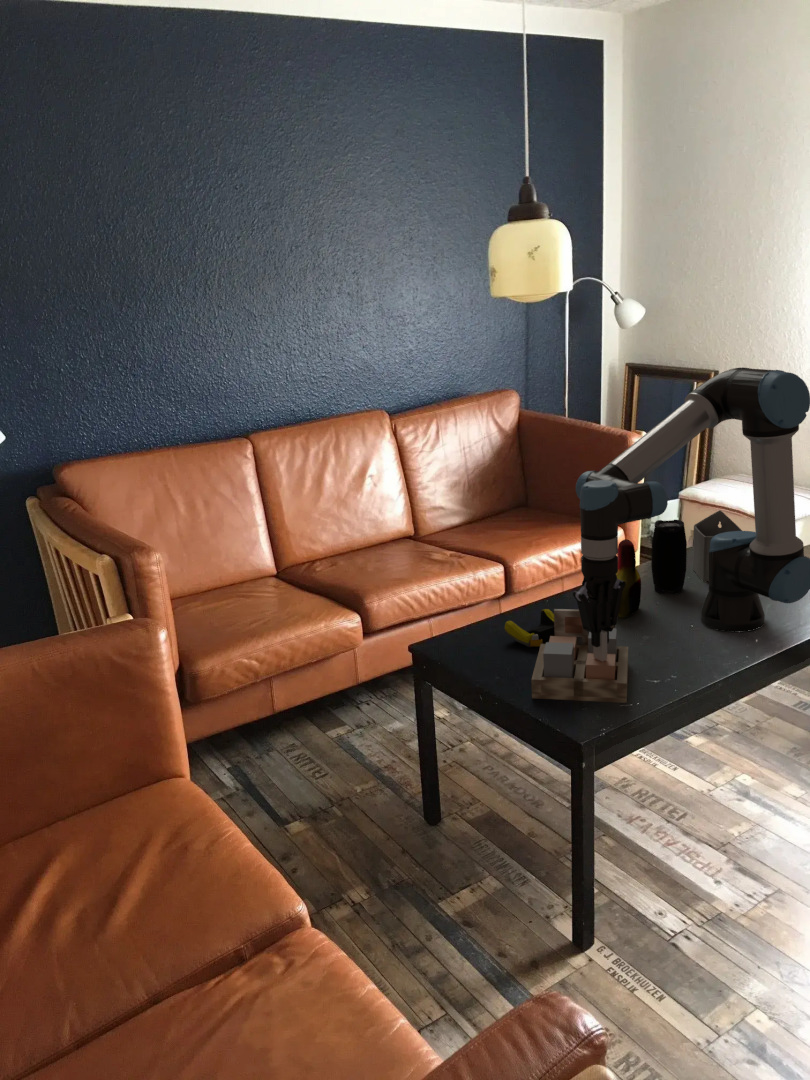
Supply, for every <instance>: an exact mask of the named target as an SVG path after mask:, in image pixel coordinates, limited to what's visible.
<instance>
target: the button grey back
mask: <svg viewBox="0 0 810 1080" xmlns="http://www.w3.org/2000/svg"><path fill="white" fill-rule="evenodd" d="M617 635H618V632H617V628H616V627H615V628H613V630H612V631H611V632H610V631H609V643H607V654H615V658H617V646H618V643H617V642H618V636H617ZM588 653H593V646H592V644H591V632H589V636H588Z"/></svg>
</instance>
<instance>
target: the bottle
mask: <svg viewBox="0 0 810 1080" xmlns="http://www.w3.org/2000/svg"><path fill="white" fill-rule="evenodd" d="M617 557H618V572H617V573H616V575H617V579H619V580H622V581H625V582H626V585H625V587H624V590H623V592H622V597H621V602H620V608H619V613H618V618H628V617H630V616H631V615H633V614H635V613H636V612H637V611H639V608H640V605H641V597H642V581H641V580H642V579H641V575H640V573H639V570H638V569H637V568H636V563H637V561H636V560H637V559H636V551H635V546H634V543H633V542H632V541H631V540H630V539H623V540H621V541H620V542H618V554H617Z"/></svg>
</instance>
